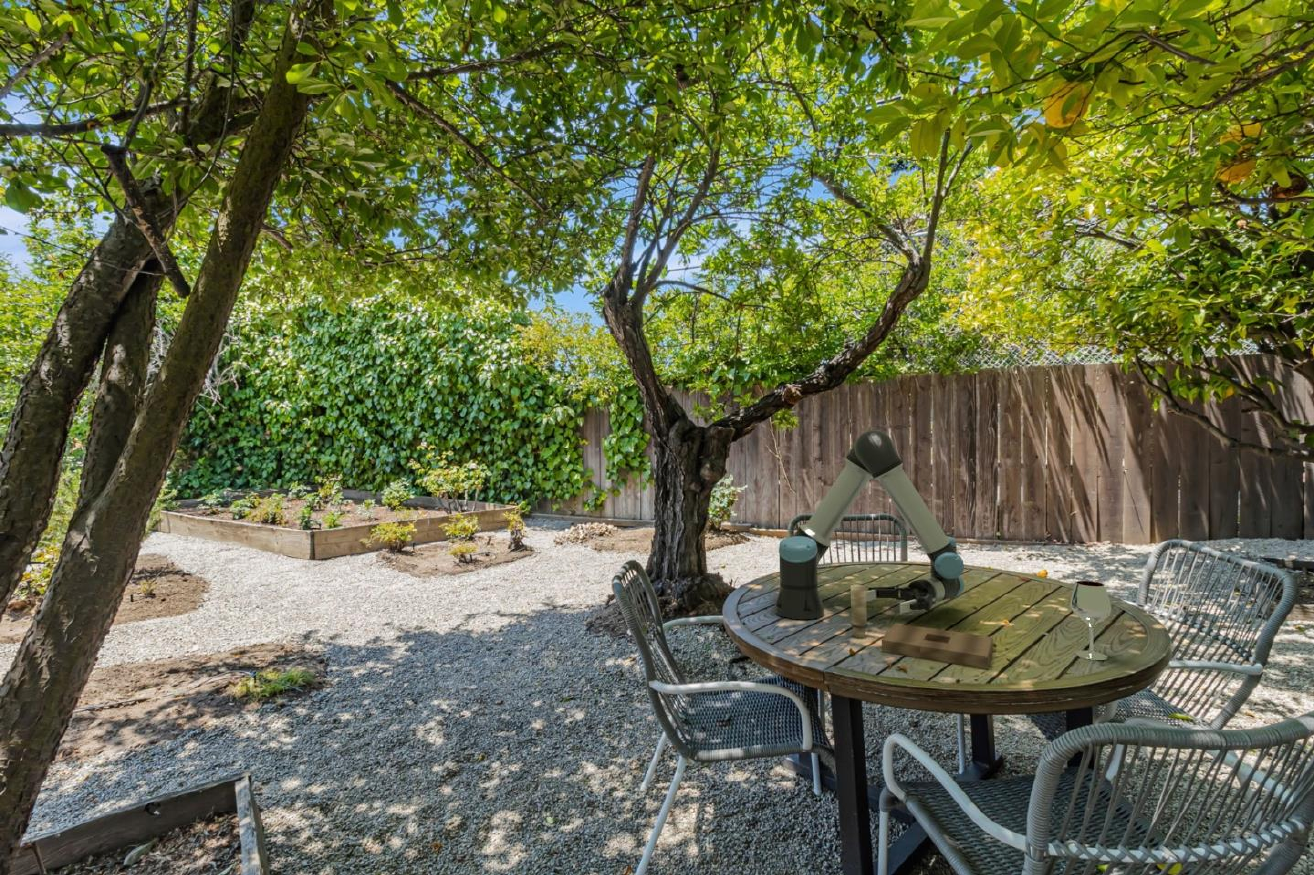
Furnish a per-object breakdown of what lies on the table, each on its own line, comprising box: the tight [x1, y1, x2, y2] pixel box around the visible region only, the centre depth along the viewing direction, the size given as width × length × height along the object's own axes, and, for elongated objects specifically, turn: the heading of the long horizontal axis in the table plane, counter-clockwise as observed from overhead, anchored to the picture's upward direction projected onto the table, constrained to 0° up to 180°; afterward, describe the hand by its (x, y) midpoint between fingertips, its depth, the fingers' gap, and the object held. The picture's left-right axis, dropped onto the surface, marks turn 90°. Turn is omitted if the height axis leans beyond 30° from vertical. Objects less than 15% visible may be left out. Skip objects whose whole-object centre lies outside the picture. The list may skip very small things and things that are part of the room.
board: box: [881, 622, 994, 670], centre depth 153 cm, size 24×16×3 cm, turn 57°
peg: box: [850, 583, 868, 639], centre depth 165 cm, size 4×4×14 cm
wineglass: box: [1070, 580, 1112, 661], centre depth 146 cm, size 8×8×18 cm
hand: (880, 603), depth 169 cm, fingers open, 13 cm apart
